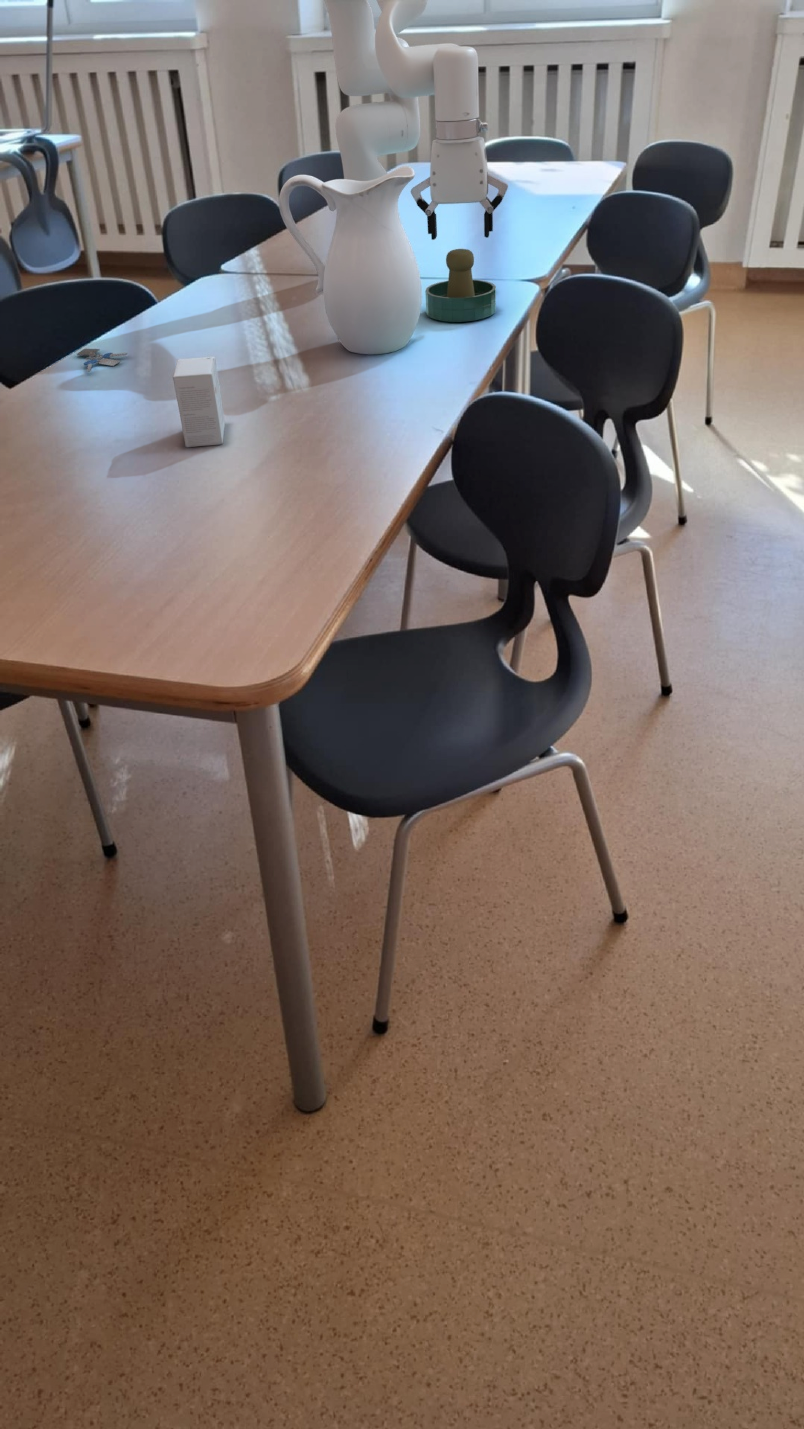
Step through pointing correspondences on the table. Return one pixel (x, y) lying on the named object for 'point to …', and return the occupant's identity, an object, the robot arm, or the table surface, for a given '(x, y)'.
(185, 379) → the small box
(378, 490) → the table surface
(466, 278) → the cork
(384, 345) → the pitcher
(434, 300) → the bowl
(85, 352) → the key chain
